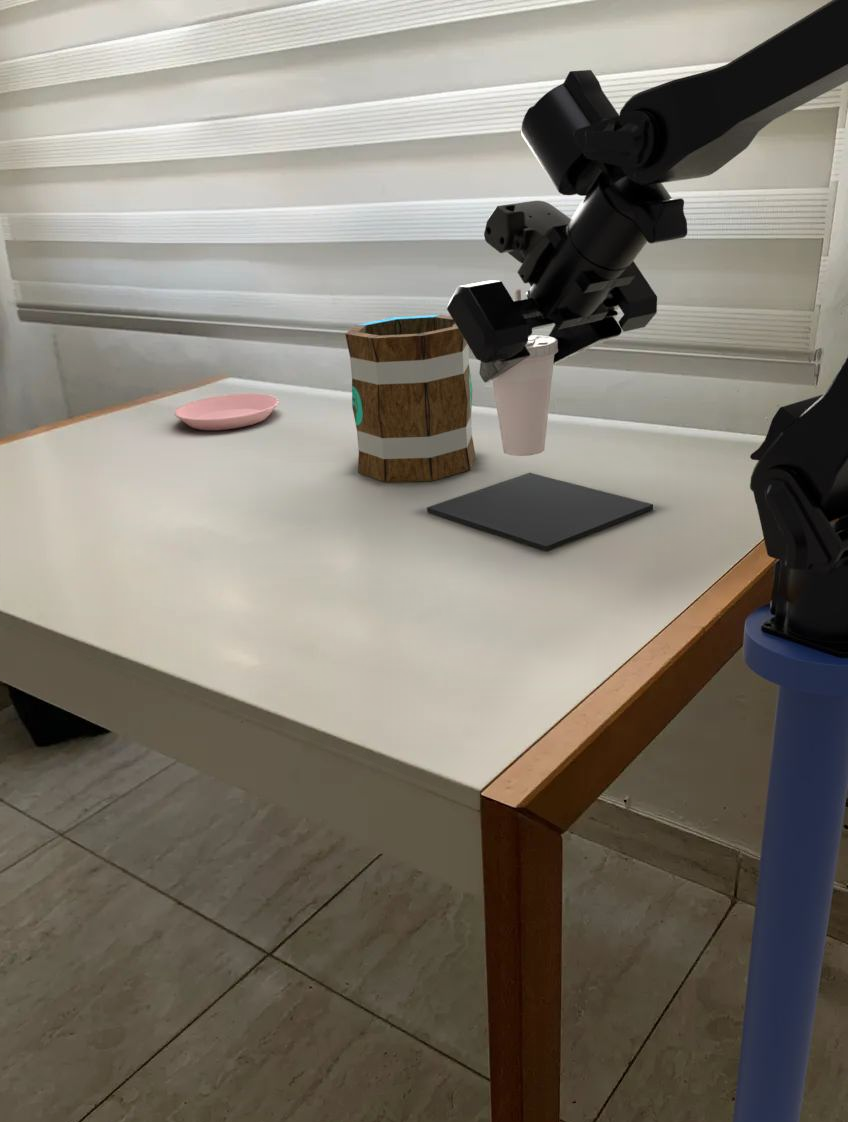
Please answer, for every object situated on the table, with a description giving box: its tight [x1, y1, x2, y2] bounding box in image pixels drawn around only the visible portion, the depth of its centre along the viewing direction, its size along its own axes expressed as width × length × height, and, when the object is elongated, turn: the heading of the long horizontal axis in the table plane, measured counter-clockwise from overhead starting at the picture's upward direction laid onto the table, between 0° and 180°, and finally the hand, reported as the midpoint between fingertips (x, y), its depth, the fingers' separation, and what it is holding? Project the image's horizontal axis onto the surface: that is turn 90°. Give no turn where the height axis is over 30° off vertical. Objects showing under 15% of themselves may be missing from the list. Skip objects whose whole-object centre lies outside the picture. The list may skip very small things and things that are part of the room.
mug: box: [344, 314, 476, 483], centre depth 113 cm, size 20×14×15 cm
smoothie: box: [491, 288, 558, 457], centre depth 90 cm, size 6×6×14 cm
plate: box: [174, 393, 280, 431], centre depth 140 cm, size 14×14×2 cm
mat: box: [426, 472, 654, 552], centre depth 97 cm, size 16×14×1 cm
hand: (512, 371), depth 91 cm, fingers closed on smoothie, 6 cm apart
